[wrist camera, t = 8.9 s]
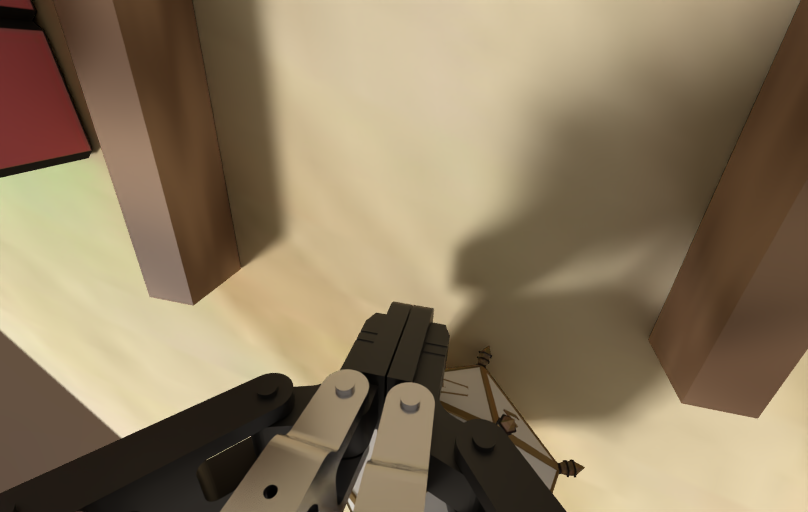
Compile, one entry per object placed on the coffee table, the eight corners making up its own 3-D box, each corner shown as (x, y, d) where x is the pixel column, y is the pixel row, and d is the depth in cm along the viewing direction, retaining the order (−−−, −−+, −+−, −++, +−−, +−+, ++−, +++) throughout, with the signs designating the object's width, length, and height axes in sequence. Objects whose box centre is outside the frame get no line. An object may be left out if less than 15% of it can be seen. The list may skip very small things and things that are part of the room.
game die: (462, 363, 21) (385, 562, 18) (358, 287, 17) (224, 534, 13) (640, 413, 14) (575, 755, 11) (546, 306, 10) (377, 837, 6)
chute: (49, -391, 9) (-135, -575, 6) (1272, -663, 5) (2080, -1430, 2) (203, 262, 17) (149, 296, 15) (709, 350, 13) (757, 418, 11)
